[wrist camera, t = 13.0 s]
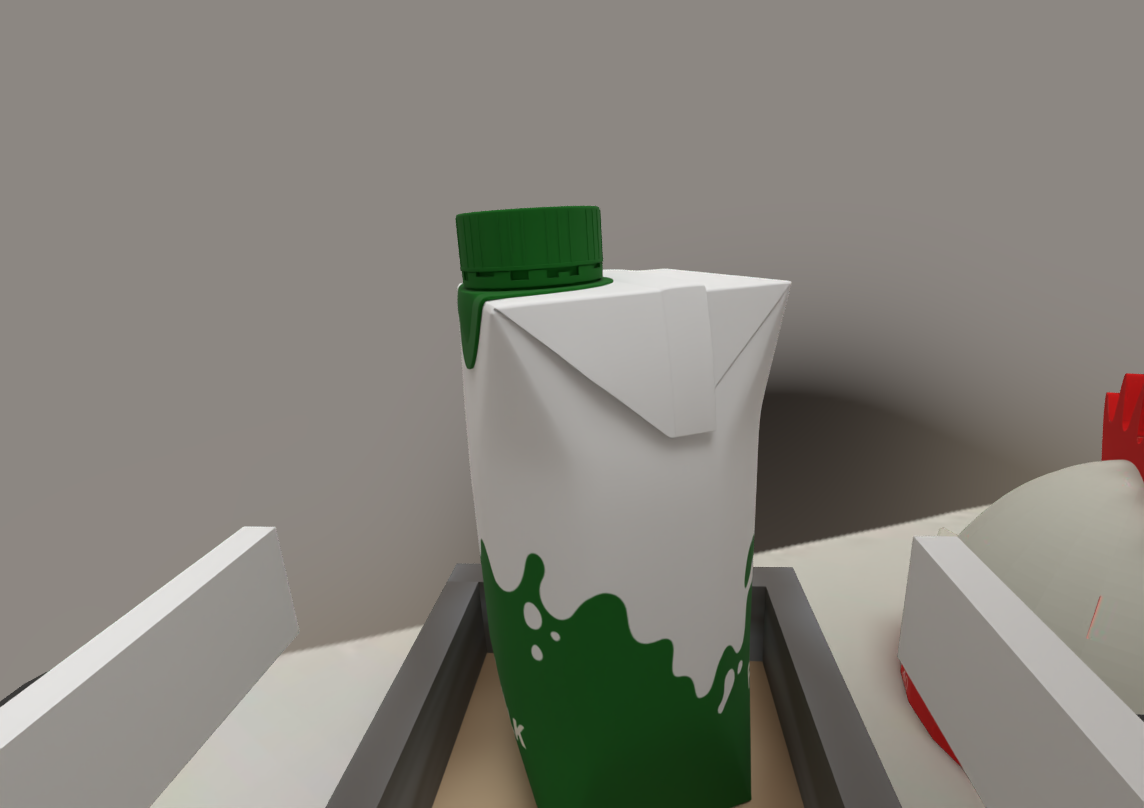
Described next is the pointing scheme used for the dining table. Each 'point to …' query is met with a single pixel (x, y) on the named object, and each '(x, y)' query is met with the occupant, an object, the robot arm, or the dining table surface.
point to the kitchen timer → (1076, 554)
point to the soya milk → (615, 506)
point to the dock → (489, 748)
